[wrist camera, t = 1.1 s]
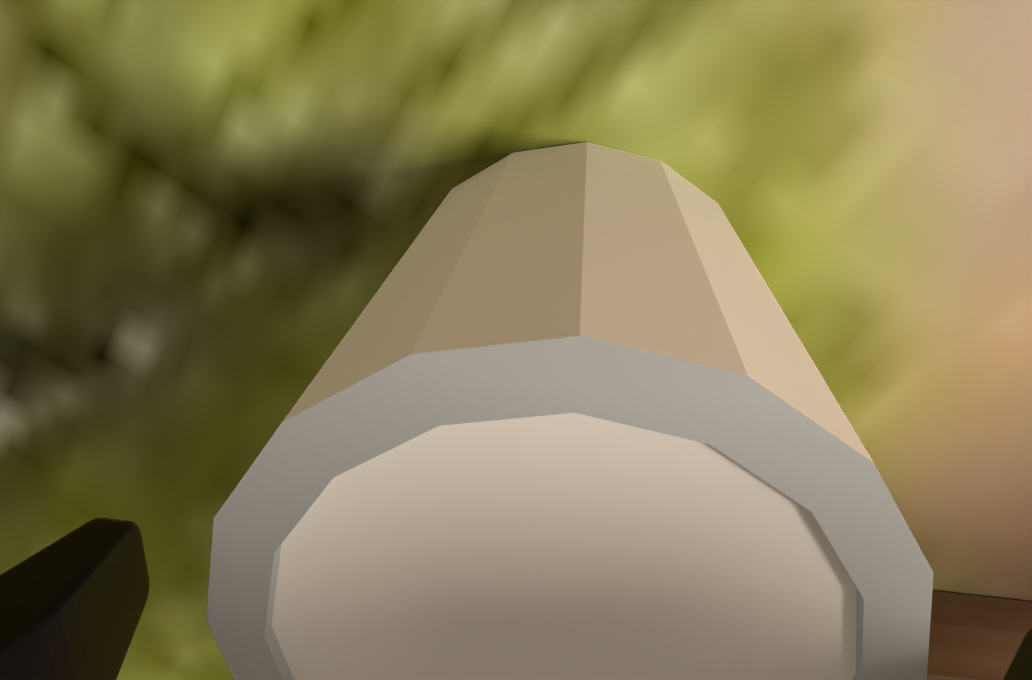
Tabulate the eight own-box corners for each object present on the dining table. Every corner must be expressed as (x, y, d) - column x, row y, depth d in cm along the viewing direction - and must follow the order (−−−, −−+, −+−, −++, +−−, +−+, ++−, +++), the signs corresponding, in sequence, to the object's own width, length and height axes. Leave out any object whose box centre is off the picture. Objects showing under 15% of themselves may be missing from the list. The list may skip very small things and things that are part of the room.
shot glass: (560, 541, 17) (538, 939, 11) (280, 294, 15) (57, 619, 9) (884, 331, 14) (1091, 704, 8) (597, -7, 12) (591, 160, 6)
